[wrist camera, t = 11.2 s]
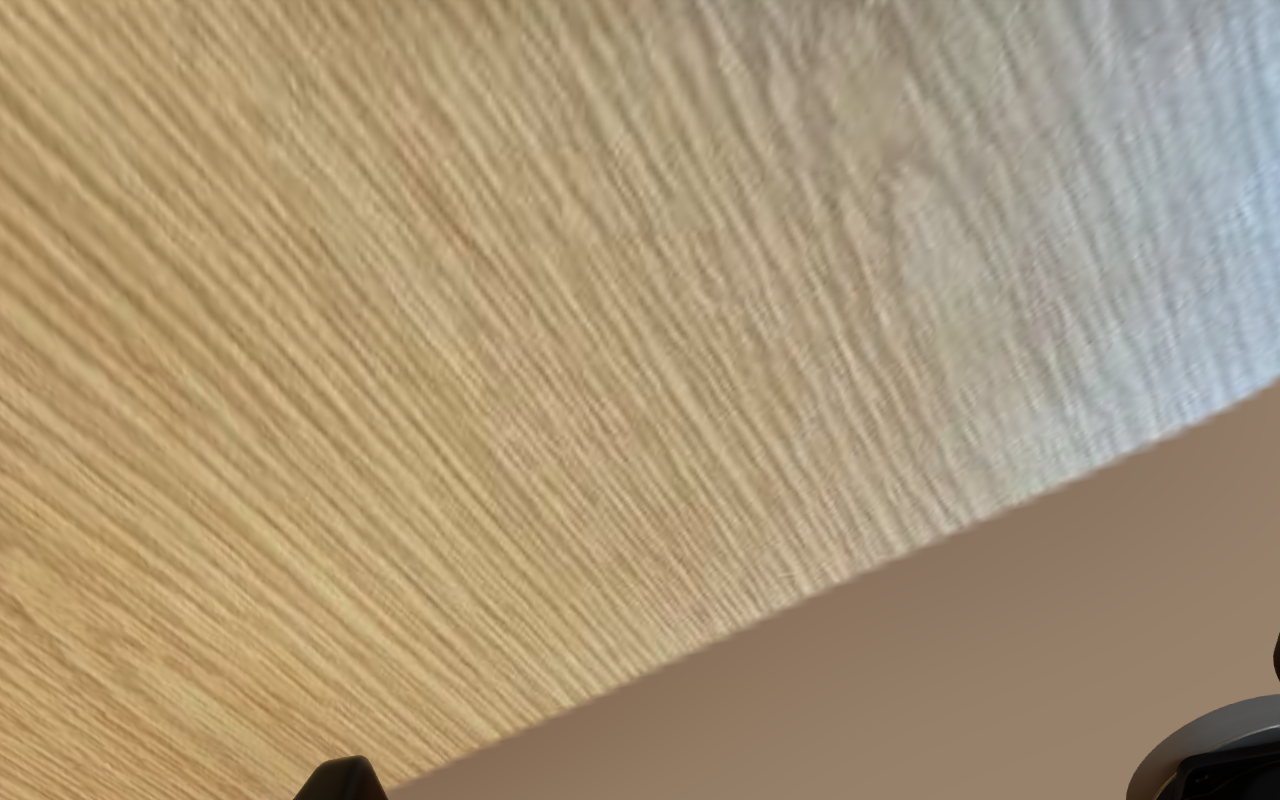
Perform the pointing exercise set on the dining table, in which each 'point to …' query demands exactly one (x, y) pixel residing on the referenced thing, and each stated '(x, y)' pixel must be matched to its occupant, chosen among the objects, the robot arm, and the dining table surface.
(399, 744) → the dining table surface
